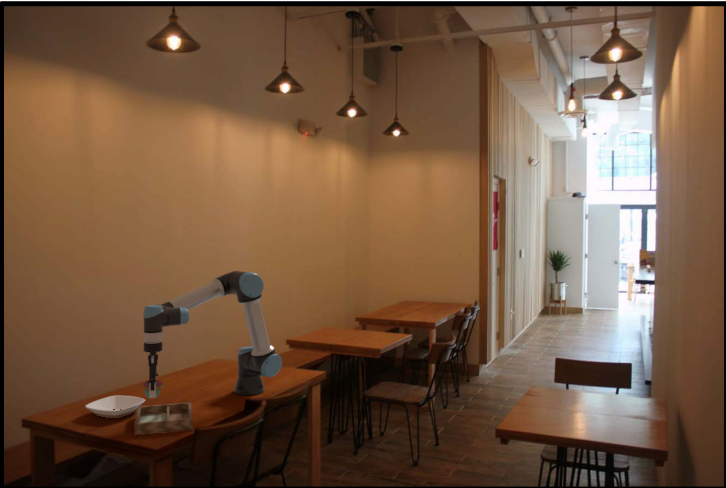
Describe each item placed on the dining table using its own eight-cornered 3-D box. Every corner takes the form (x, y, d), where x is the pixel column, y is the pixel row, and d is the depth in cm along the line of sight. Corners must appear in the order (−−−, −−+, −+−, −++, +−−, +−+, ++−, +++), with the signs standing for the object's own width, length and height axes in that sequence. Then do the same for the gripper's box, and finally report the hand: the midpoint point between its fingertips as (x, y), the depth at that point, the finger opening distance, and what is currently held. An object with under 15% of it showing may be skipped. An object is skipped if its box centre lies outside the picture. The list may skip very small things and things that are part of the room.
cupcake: (137, 398, 245) (137, 369, 245) (152, 393, 253) (152, 365, 253) (153, 400, 242) (153, 371, 242) (167, 395, 250) (167, 367, 250)
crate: (190, 412, 265) (190, 402, 264) (192, 430, 241) (192, 419, 241) (138, 417, 258) (138, 406, 258) (134, 436, 234) (134, 424, 234)
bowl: (78, 418, 256) (78, 406, 256) (115, 404, 276) (115, 393, 276) (116, 424, 248) (116, 412, 248) (151, 410, 268) (151, 398, 268)
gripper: (144, 337, 256) (144, 389, 257) (142, 347, 236) (142, 402, 237) (162, 337, 258) (162, 387, 259) (161, 346, 238) (161, 401, 239)
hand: (152, 394), depth 248 cm, fingers closed on cupcake, 8 cm apart
